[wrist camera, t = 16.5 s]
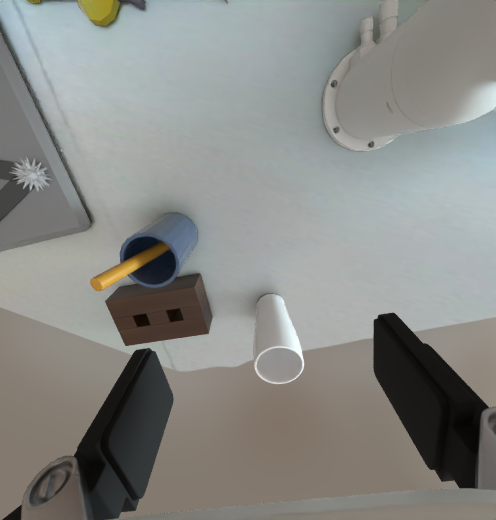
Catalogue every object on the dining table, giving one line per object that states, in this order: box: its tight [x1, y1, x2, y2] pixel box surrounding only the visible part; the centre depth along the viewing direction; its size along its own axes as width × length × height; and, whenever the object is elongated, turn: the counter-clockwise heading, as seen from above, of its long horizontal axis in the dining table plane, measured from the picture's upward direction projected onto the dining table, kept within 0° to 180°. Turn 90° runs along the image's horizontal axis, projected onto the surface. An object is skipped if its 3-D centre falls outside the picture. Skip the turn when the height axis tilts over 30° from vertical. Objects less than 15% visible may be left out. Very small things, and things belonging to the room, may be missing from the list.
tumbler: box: [120, 213, 198, 288], centre depth 37 cm, size 7×7×12 cm
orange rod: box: [90, 241, 170, 291], centre depth 34 cm, size 2×2×17 cm
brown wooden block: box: [105, 274, 212, 346], centre depth 45 cm, size 9×15×5 cm, turn 100°
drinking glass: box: [253, 294, 304, 384], centre depth 40 cm, size 7×7×15 cm
